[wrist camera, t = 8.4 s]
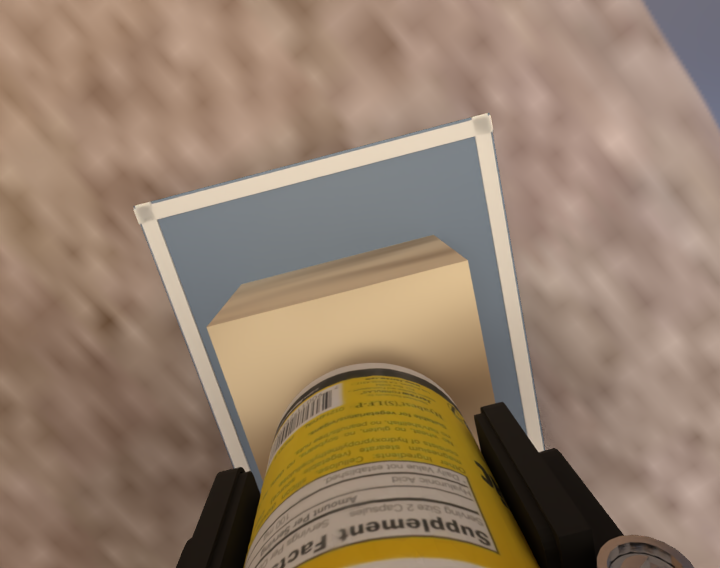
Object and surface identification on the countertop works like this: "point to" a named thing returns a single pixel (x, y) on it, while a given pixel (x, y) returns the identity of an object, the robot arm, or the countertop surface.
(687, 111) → the countertop surface
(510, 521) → the supplement bottle
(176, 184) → the countertop surface
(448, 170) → the board
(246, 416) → the birch block
